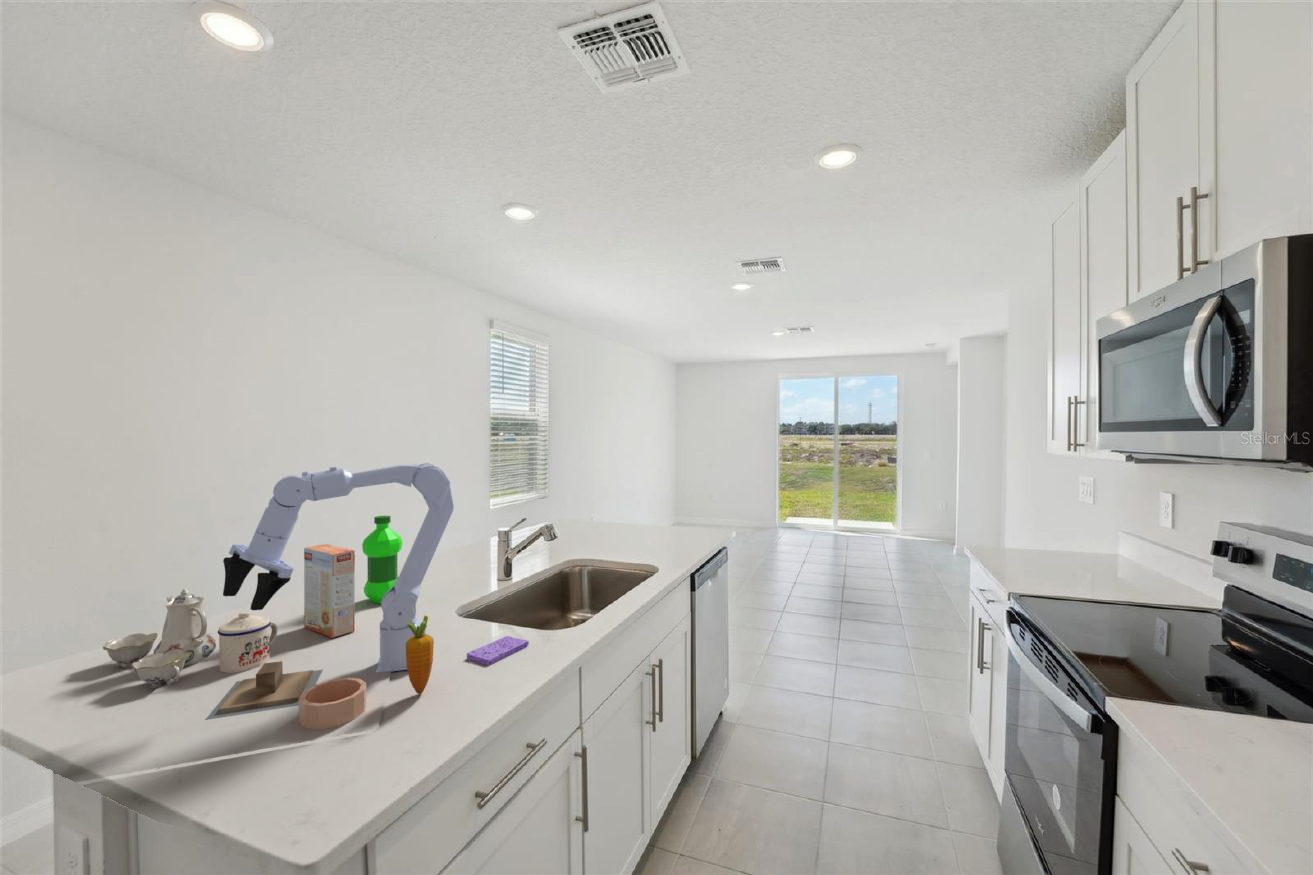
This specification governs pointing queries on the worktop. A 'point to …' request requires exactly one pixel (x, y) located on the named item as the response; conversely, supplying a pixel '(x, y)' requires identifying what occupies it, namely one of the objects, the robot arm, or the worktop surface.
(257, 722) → the worktop surface
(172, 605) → the chinaware
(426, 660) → the carrot
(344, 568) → the cracker box
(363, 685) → the terracotta bowl
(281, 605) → the worktop surface
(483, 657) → the sponges
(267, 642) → the teacup with lid
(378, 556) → the plastic bottle
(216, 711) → the rubber mat
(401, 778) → the worktop surface
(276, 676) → the walnut lid
